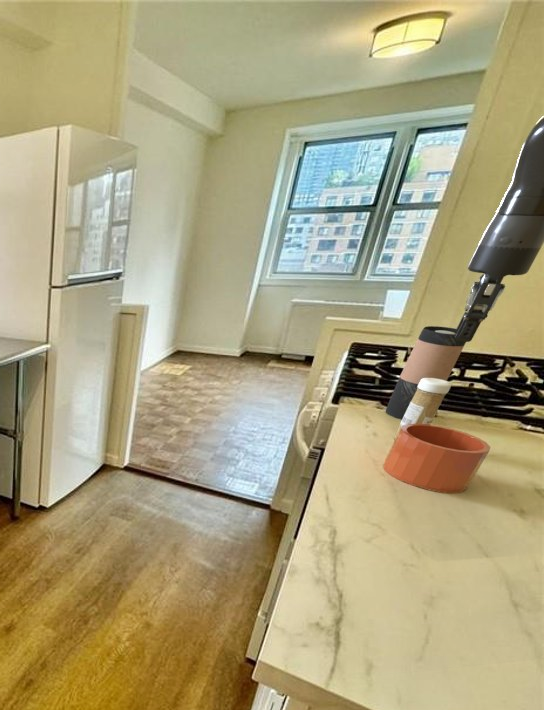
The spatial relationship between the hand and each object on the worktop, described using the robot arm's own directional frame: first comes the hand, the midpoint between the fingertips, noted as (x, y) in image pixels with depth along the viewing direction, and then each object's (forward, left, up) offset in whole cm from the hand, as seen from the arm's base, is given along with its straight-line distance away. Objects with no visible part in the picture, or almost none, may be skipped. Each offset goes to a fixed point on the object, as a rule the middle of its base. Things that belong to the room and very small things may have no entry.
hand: (462, 336), depth 91 cm
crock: (+11, +13, -22) cm, 28 cm away
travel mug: (-11, -12, -22) cm, 28 cm away
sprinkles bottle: (+1, 0, -22) cm, 22 cm away
